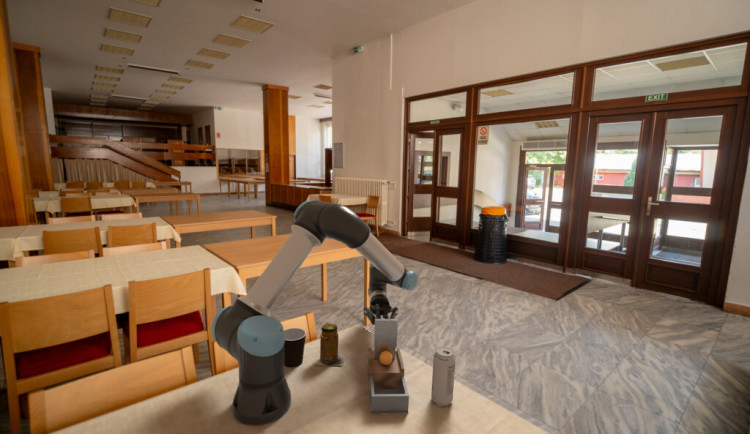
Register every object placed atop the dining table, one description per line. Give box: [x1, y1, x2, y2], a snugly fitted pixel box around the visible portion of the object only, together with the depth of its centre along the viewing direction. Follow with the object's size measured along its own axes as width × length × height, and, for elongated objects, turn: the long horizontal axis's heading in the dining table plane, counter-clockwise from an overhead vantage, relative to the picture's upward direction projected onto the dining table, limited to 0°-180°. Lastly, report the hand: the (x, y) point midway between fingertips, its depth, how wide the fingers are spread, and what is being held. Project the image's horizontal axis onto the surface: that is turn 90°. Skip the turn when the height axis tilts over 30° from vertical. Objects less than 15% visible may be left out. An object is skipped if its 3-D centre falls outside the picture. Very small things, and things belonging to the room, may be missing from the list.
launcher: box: [367, 347, 405, 392], centre depth 107 cm, size 10×12×7 cm
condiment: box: [316, 323, 346, 367], centre depth 116 cm, size 7×8×12 cm
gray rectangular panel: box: [373, 318, 399, 359], centre depth 107 cm, size 7×1×13 cm, turn 94°
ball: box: [379, 351, 393, 365], centre depth 105 cm, size 4×4×4 cm
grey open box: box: [369, 375, 410, 414], centre depth 97 cm, size 10×9×5 cm
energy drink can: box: [430, 346, 456, 407], centre depth 98 cm, size 6×6×15 cm
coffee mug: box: [284, 327, 307, 369], centre depth 116 cm, size 12×9×10 cm
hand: (384, 331), depth 111 cm, fingers closed
